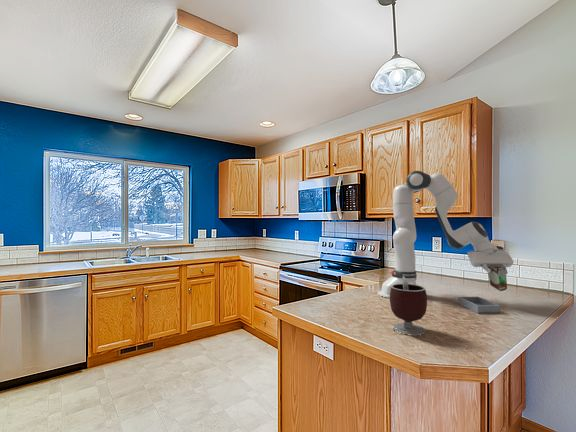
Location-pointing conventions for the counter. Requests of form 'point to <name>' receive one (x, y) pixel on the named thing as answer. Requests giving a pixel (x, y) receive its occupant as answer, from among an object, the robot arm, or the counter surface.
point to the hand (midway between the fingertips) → (497, 272)
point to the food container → (498, 277)
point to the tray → (479, 305)
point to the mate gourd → (408, 306)
